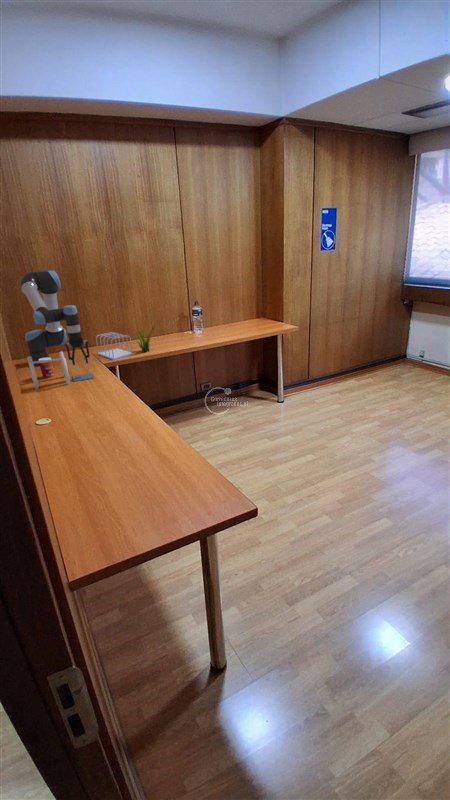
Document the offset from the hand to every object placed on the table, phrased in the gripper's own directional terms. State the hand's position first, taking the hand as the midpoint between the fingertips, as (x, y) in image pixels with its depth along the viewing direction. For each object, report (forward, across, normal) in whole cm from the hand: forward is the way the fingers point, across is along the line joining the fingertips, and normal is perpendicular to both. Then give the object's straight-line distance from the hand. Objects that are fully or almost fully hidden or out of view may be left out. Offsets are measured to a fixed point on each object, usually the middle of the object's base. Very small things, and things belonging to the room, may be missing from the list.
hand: (81, 369), depth 246 cm
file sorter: (+6, +26, +47) cm, 54 cm away
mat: (+6, 0, 0) cm, 6 cm away
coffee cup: (+9, -20, +15) cm, 27 cm away
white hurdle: (+6, -19, 0) cm, 20 cm away
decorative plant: (+6, +51, +46) cm, 69 cm away
